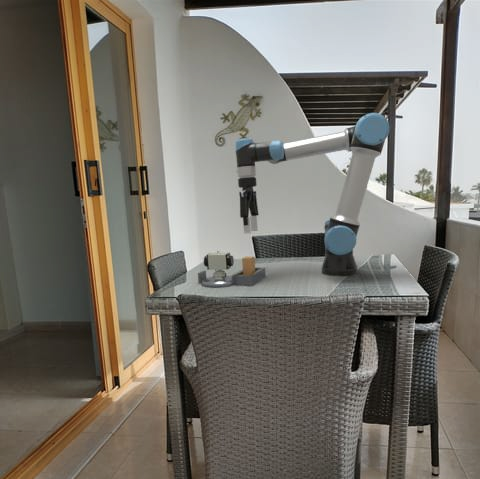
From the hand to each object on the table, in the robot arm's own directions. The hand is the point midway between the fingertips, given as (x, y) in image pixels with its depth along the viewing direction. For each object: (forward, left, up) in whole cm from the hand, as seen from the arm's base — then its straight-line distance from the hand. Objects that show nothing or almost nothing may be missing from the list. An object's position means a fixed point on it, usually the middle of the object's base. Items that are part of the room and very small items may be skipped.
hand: (250, 231), depth 150 cm
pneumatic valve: (+12, +9, -19) cm, 24 cm away
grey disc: (+12, +9, -20) cm, 25 cm away
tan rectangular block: (+1, +3, -20) cm, 21 cm away
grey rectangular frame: (+1, +3, -20) cm, 21 cm away
